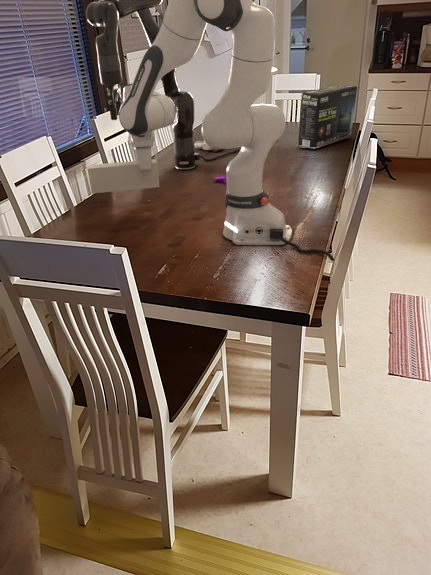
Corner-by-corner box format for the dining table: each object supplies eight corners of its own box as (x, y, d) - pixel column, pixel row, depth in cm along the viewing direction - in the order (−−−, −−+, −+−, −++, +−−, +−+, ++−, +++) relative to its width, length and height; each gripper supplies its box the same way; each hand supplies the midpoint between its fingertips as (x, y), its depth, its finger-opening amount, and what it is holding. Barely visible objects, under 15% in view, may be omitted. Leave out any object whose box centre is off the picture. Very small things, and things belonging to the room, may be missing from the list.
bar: (158, 183, 161) (156, 159, 157) (159, 187, 157) (157, 162, 153) (92, 189, 158) (88, 165, 154) (91, 193, 154) (87, 168, 150)
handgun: (214, 180, 197) (213, 176, 196) (231, 178, 198) (231, 174, 197) (224, 196, 180) (223, 191, 179) (243, 193, 181) (242, 189, 180)
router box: (314, 151, 231) (318, 94, 217) (296, 148, 237) (299, 92, 224) (352, 138, 251) (358, 85, 238) (335, 135, 258) (340, 83, 245)
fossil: (218, 146, 231) (198, 127, 234) (207, 163, 238) (188, 145, 241) (236, 144, 245) (217, 126, 248) (226, 160, 252) (207, 143, 255)
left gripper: (104, 67, 167) (110, 114, 175) (94, 71, 154) (102, 121, 163) (124, 66, 166) (130, 113, 175) (116, 70, 154) (123, 121, 162)
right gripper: (131, 130, 158) (136, 169, 165) (132, 143, 141) (137, 187, 148) (149, 128, 159) (153, 168, 166) (152, 142, 142) (157, 185, 149)
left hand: (116, 117), depth 169 cm, fingers open, 8 cm apart
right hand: (146, 177), depth 157 cm, fingers closed on bar, 4 cm apart
